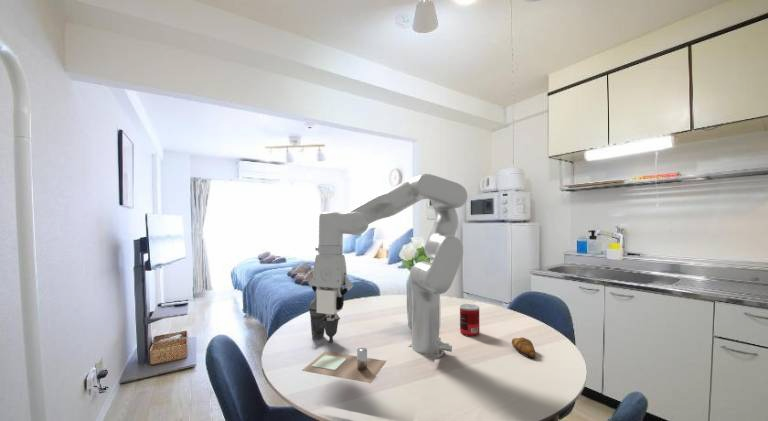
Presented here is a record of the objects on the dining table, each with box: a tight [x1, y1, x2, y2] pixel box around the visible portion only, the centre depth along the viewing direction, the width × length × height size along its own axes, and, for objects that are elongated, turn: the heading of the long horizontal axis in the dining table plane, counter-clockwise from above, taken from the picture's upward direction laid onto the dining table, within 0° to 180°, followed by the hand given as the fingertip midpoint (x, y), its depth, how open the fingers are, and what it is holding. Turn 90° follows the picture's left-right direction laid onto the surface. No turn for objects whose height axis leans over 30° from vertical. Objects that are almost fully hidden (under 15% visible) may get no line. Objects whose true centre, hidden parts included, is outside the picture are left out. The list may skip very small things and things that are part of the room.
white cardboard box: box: [316, 288, 344, 315], centre depth 96 cm, size 6×6×7 cm
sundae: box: [322, 312, 341, 344], centre depth 112 cm, size 7×7×15 cm
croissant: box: [511, 337, 536, 359], centre depth 108 cm, size 14×7×5 cm, turn 4°
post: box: [356, 347, 368, 371], centre depth 92 cm, size 3×3×6 cm
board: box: [301, 351, 387, 384], centre depth 94 cm, size 22×14×2 cm, turn 72°
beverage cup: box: [308, 294, 326, 340], centre depth 121 cm, size 7×7×20 cm
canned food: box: [459, 303, 480, 337], centre depth 126 cm, size 8×8×11 cm
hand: (329, 307), depth 96 cm, fingers closed on white cardboard box, 6 cm apart
